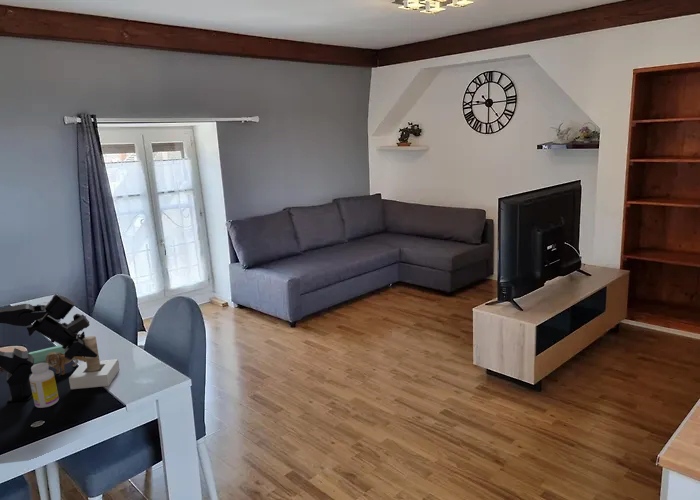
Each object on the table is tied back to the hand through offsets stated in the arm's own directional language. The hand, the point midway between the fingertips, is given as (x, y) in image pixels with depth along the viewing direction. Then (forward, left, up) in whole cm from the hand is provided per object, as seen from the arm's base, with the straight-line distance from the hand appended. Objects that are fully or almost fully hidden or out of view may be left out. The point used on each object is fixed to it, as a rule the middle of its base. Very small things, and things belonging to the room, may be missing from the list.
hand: (96, 353), depth 174 cm
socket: (0, +1, -9) cm, 9 cm away
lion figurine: (+8, +13, -9) cm, 18 cm away
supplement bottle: (-14, +11, -9) cm, 20 cm away
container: (+21, +21, -9) cm, 31 cm away
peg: (0, +1, -7) cm, 7 cm away
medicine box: (+64, +42, -9) cm, 77 cm away
